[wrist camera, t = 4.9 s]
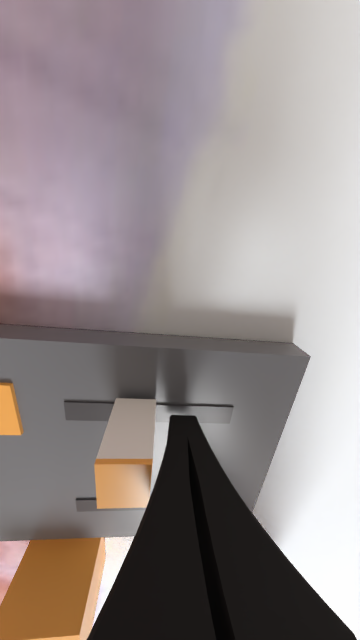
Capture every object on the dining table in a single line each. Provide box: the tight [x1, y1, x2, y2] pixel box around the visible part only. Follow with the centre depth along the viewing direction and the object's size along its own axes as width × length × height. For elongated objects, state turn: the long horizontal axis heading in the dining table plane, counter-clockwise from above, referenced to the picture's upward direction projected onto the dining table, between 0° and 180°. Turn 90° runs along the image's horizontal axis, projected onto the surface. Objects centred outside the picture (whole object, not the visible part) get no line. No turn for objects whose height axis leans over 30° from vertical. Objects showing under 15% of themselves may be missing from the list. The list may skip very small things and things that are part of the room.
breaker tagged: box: [94, 398, 156, 509], centre depth 9 cm, size 2×2×3 cm
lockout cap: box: [0, 537, 105, 640], centre depth 15 cm, size 5×5×5 cm
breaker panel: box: [0, 324, 311, 541], centre depth 12 cm, size 20×16×2 cm
